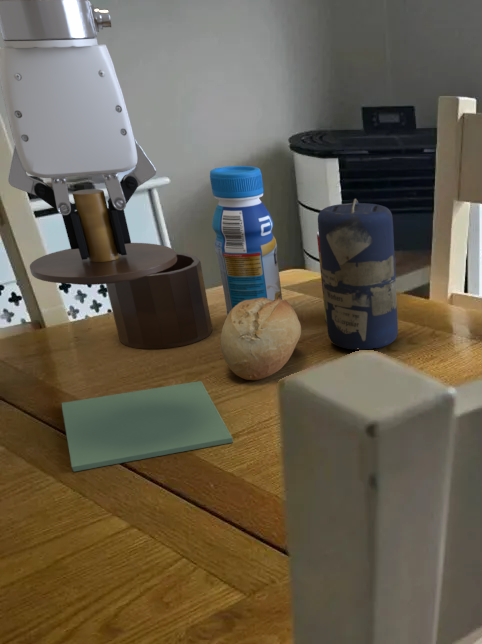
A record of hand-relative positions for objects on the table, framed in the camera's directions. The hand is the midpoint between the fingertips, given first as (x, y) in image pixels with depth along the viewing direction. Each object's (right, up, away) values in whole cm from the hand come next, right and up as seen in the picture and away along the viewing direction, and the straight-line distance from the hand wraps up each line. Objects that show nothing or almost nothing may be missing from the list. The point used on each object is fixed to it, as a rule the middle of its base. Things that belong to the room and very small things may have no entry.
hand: (102, 252), depth 81 cm
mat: (0, -15, +11) cm, 18 cm away
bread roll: (+10, -4, +26) cm, 28 cm away
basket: (-6, +4, +36) cm, 37 cm away
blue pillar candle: (+22, +1, +32) cm, 39 cm away
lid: (0, -1, +1) cm, 1 cm away
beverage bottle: (+6, +7, +40) cm, 41 cm away
